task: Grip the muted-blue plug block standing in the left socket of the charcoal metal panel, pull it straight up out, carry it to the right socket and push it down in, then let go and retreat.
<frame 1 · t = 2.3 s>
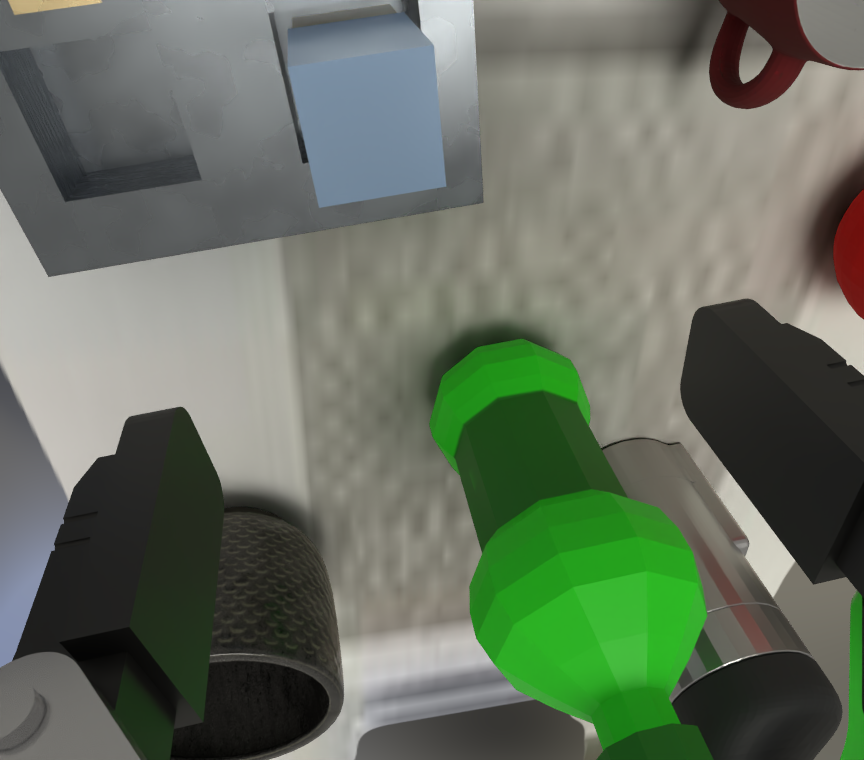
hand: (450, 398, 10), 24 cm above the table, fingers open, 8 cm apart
plastic bottle: (493, 375, 42), on the table
planter: (239, 539, 47), on the table
plug: (349, 64, 28), resting on panel
panel: (239, 78, 28), on the table
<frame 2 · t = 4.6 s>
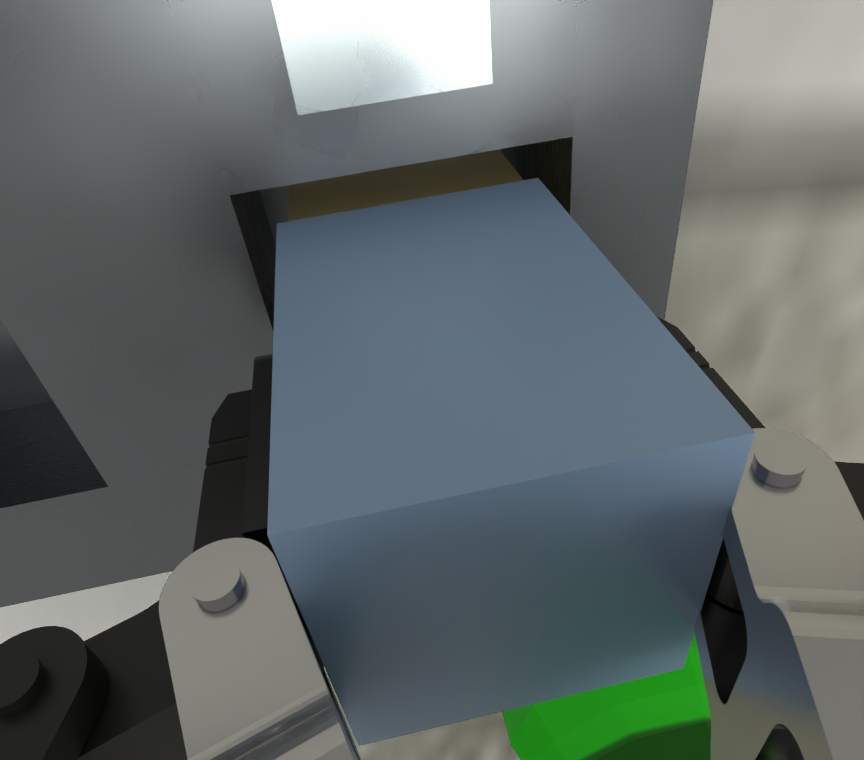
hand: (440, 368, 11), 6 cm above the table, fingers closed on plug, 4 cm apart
plastic bottle: (589, 610, 28), on the table
plug: (399, 233, 15), point 1 cm above the table, touching gripper, panel
panel: (187, 261, 15), on the table
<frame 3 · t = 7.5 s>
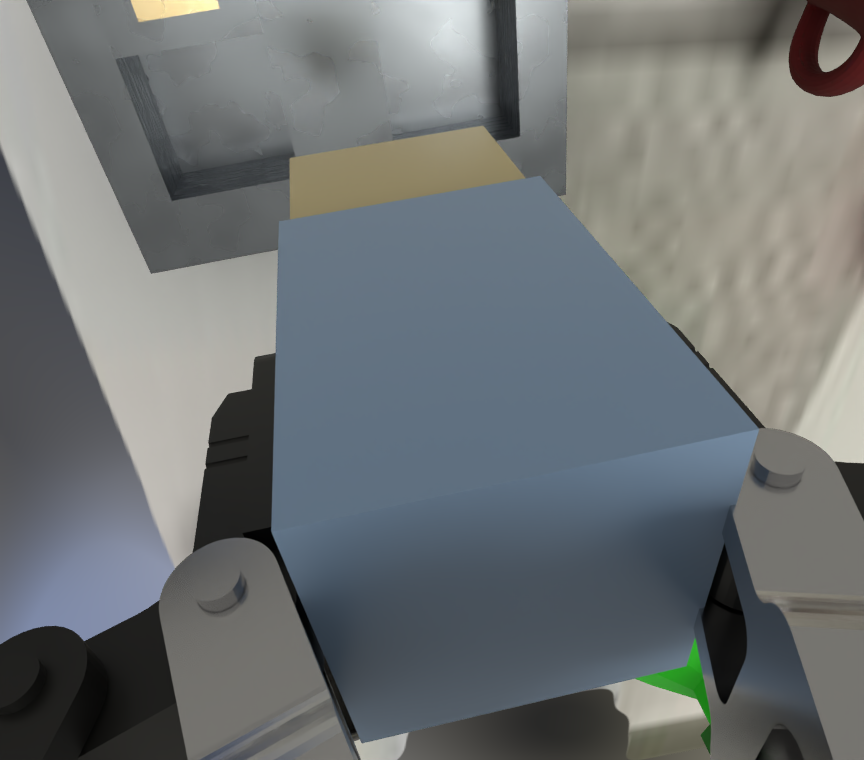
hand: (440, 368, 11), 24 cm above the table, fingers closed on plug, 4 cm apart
plastic bottle: (557, 366, 43), on the table
planter: (304, 531, 48), on the table
plug: (400, 231, 15), point 18 cm above the table, touching gripper
panel: (330, 78, 29), on the table
when the fingers open (7 cm above the table, at t = 10.5 s): plug stays where it is, resting on panel.
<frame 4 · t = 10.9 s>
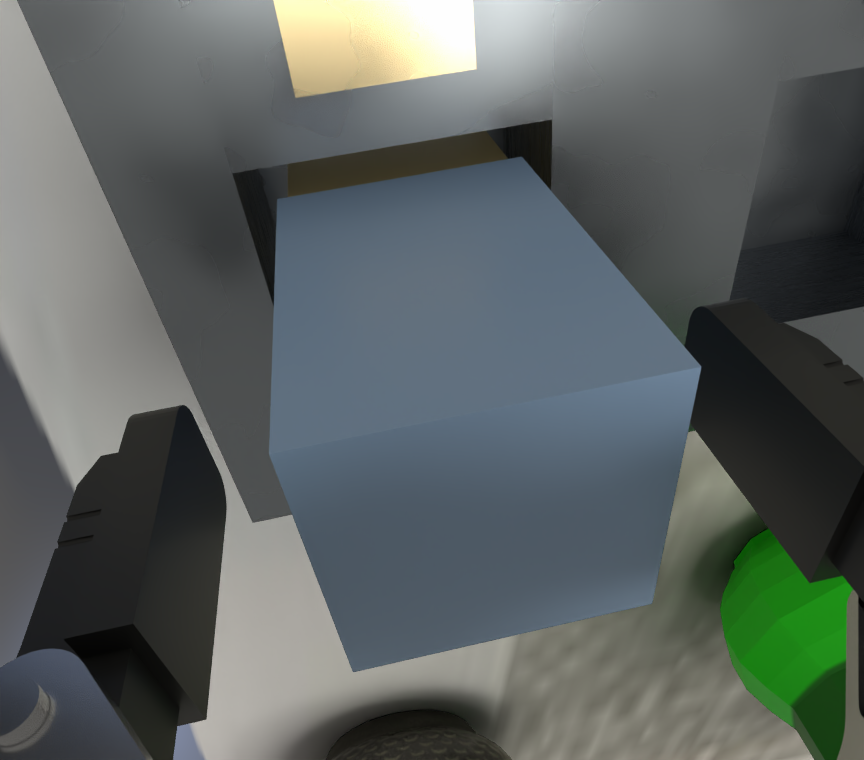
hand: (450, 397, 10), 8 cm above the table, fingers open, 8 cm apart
plastic bottle: (784, 546, 30), on the table
planter: (400, 739, 35), on the table
plug: (393, 214, 16), resting on panel
panel: (580, 174, 16), on the table
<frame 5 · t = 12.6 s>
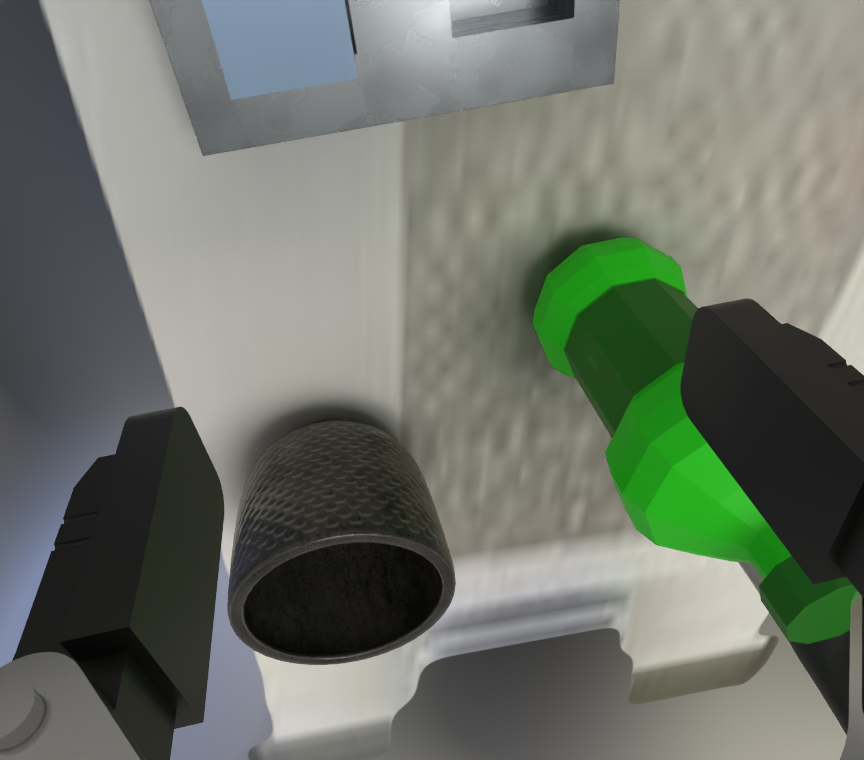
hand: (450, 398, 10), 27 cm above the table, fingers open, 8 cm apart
plastic bottle: (586, 282, 43), on the table
planter: (330, 455, 49), on the table
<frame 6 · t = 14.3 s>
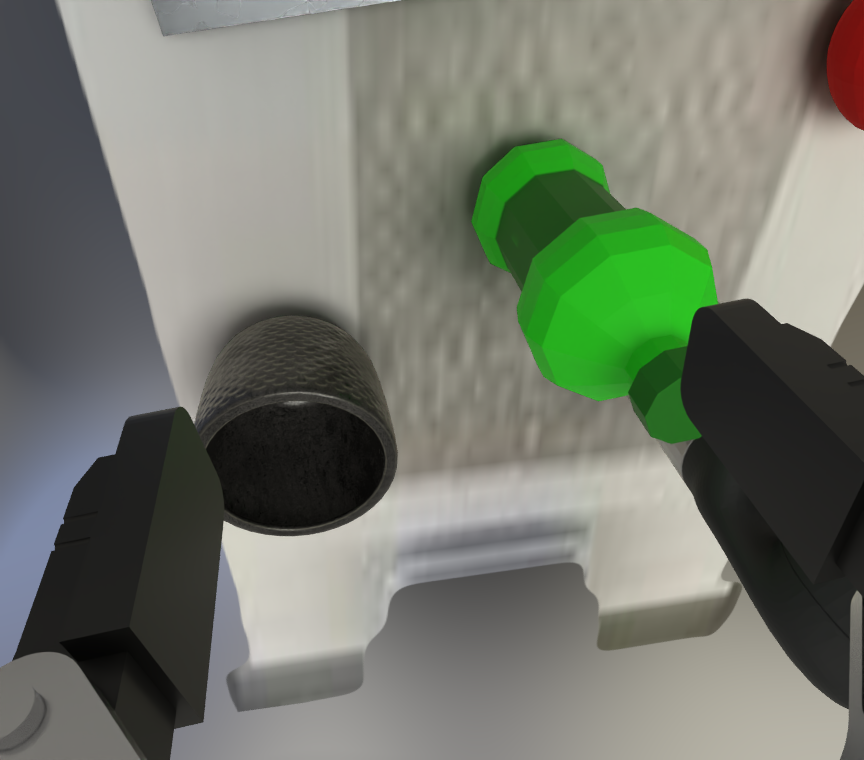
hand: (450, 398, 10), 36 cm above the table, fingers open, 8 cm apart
plastic bottle: (525, 191, 47), on the table
planter: (294, 358, 53), on the table
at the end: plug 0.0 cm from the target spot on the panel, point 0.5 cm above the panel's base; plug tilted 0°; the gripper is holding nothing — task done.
